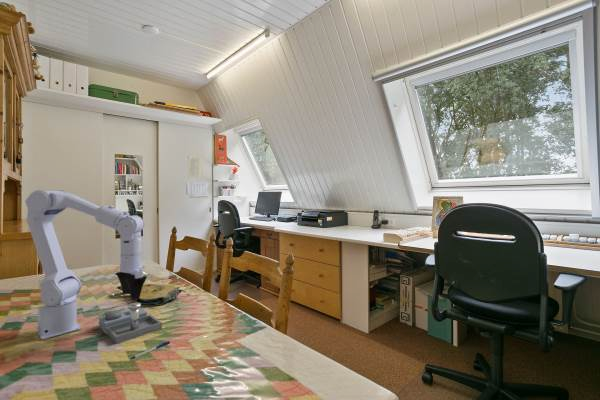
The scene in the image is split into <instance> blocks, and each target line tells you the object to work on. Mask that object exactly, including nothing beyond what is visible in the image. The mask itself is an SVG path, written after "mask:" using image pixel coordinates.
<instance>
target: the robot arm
mask: <svg viewBox="0 0 600 400" xmlns="http://www.w3.org/2000/svg"><path fill="white" fill-rule="evenodd" d="M24 202H25V205H26V208H27V216H26V222H27V226H28V229H29V231H30V235H31V238H32V241H33V243H34V246H35V249H36V252H37V255H38V258H39V261H40V264H41V267H42V271H43V273H44V277H43V279H42V280H41V282H40V283H39V287H40V300H41V301H42V303H43V304H44V305H41V306H39V307H37V328H36V329H37V334H38V336H39V338H40V340H41V341H42V340H47V339H50V338H54V337H58V336H60V335H65V334H68V333H71V332H75V331H78V330H81V328H82V327H81V326H80V325H79V323H78V322H77V321H78V320H77V319H78V317H77V316H78V314H77V311H78V310H77V303H78V302H77V298H78V294H80V291H81V290H82V287H83V286H82V282H81V280H80V279H79V278H77V276H76V273H75V272H74V270H71V269H69V268H67V264H66V262H65V261H66V260H65V258H64V255H63V253H62V252H63V251H62V248H61V246H60V243H59V240H58V237H57V234H56V232H55V228H54V225H53V221H54V219H55V218H56V217H57V216H58V215H59V214H61V213H62V212H64V211H65V210H67V208H70V209H73V210H75V211H78V212H81V213H83V214H84V213H85V214H87V215H90V216H93V217H94V218H95V221H96V222H97V223H99V224H101V225H104V226H106V227H109V228H111V229H114V230H116V231H117V232H118V233H119V237H120V238H119V239H120V264H119V271H117V272H115V274H116V275H115V276H116V277H117V278H118V280H119V283H120V286H121V288H122V291H121V292H122V294H123V295H126V294H129V296H130V300H132V301H135V299H139V298H140V294H141V290H142V287H143V284H145V283H146V280H147V278H148V277H147V276H146V275H144V271H143V269H145V268H146V265H145V264H142V231H143V230H144V227H145V221H144V219H143V218H142V217H140V215H138V214H133V215H130V213H129V212H128V211H125V212H124V211H122V210H119V209H116V206H114V205H112V204H110V205H103V206H99V205H97V204H95V203H94V202H93V203H92V202H91V201H88V200H86V199H84V198H82V197H80V196H77V195H76V194H74V193H72V192H67V191H65V190H63V189H61V190H60V189H59V190H42V189H36V190H34V191H33V192H31V193H30V194H29V195H28V197H27V198H26V200H24Z"/></svg>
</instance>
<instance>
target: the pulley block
mask: <svg viewBox="0 0 600 400" xmlns="http://www.w3.org/2000/svg"><path fill="white" fill-rule="evenodd" d="M116 288H117V290H119V291H121V292H123V291H122V288H121V285H119V286H116ZM182 292H183V293H184V292H187V290H184V289H180V287H179V286H178V287H175V286H174V285H173V284H172V285H171V284H153V283H147V284H145V283H144V284H143V287H142V290H141V294H140V298H139V299H135V300H134V301H135V303H141V306H143V307H154V306H155V307H156V306H163V305H164V304H165V303H167V302H169V301H172V300H175V299H176V298H177V297H178V295H180V294H181V293H182Z"/></svg>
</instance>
